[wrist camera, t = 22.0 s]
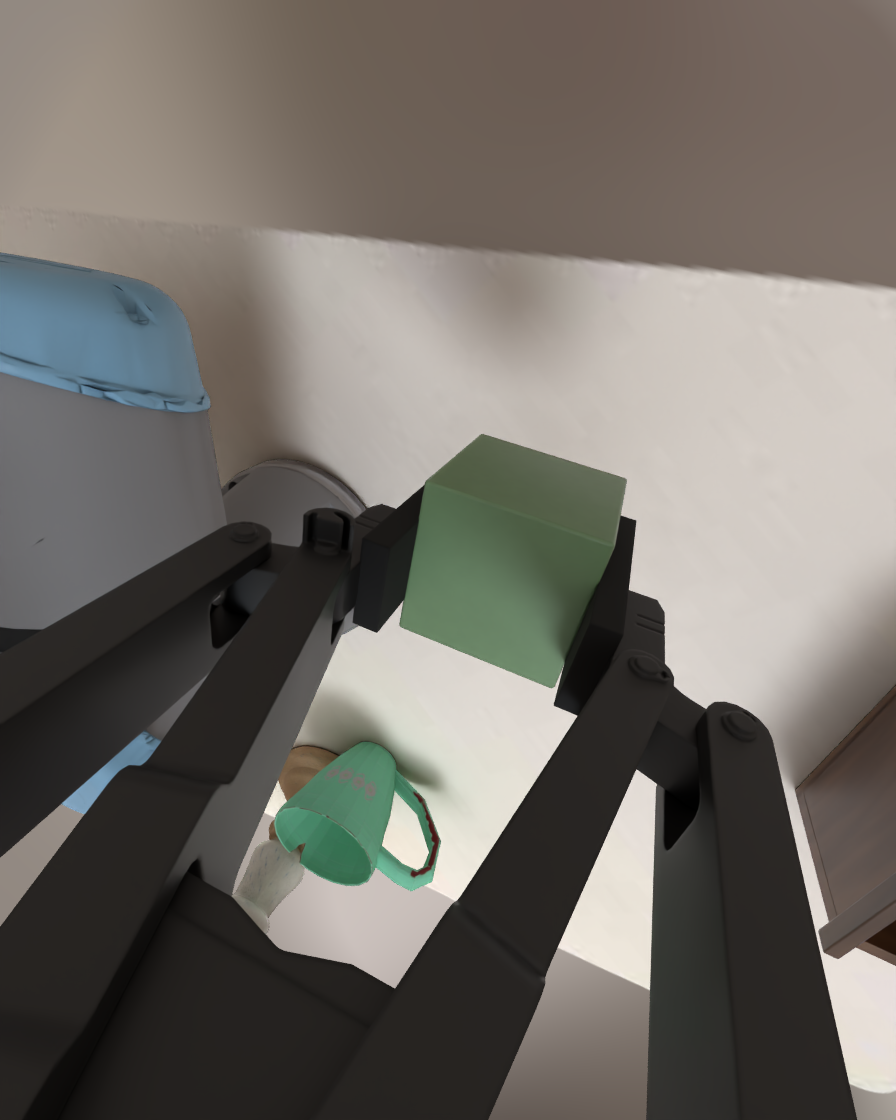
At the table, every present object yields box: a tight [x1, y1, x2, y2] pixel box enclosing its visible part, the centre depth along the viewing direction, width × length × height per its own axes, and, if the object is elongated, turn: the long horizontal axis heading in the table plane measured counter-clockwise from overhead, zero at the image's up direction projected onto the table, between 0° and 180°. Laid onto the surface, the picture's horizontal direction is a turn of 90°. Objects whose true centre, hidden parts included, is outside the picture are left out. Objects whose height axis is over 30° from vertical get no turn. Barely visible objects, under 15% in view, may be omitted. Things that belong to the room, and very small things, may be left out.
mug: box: [274, 742, 441, 891], centre depth 48 cm, size 15×10×10 cm
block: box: [399, 434, 627, 688], centre depth 16 cm, size 5×5×5 cm
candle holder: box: [232, 746, 339, 934], centre depth 49 cm, size 12×12×20 cm
